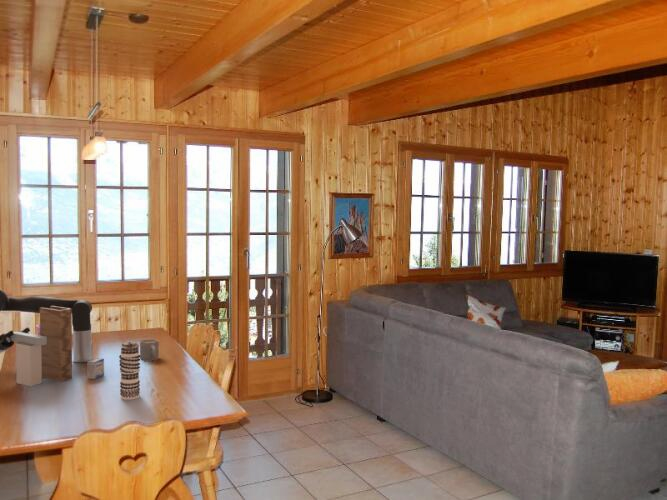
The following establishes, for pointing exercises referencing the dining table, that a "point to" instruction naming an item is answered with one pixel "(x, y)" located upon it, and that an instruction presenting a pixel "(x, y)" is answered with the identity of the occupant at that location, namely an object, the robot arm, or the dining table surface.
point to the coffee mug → (149, 349)
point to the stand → (56, 343)
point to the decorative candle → (129, 370)
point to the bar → (29, 338)
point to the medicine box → (95, 368)
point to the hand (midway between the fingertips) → (20, 330)
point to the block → (28, 364)
